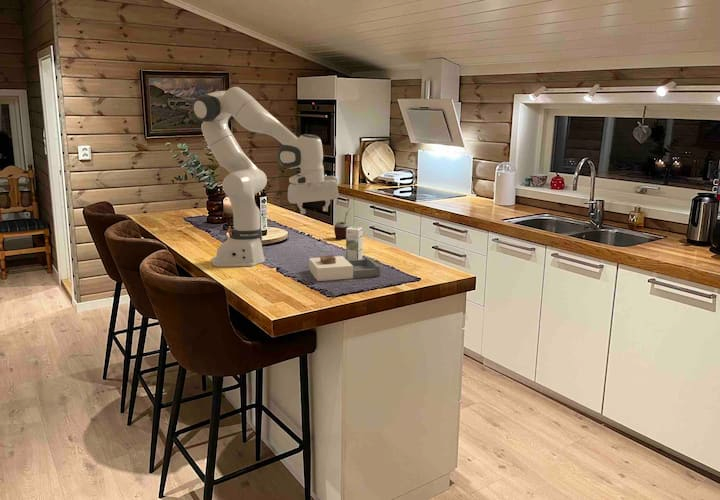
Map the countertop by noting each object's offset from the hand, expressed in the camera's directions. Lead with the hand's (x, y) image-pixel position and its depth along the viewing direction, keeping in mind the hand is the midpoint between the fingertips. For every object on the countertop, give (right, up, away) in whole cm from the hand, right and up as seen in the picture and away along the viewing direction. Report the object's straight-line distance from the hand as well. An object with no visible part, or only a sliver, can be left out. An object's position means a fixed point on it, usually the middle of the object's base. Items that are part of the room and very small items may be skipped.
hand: (314, 212), depth 235 cm
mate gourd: (+9, -9, +67) cm, 68 cm away
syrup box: (+15, -19, +25) cm, 35 cm away
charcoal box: (+18, -23, +8) cm, 31 cm away
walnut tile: (+5, -19, +3) cm, 20 cm away
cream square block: (+6, -24, +4) cm, 25 cm away
